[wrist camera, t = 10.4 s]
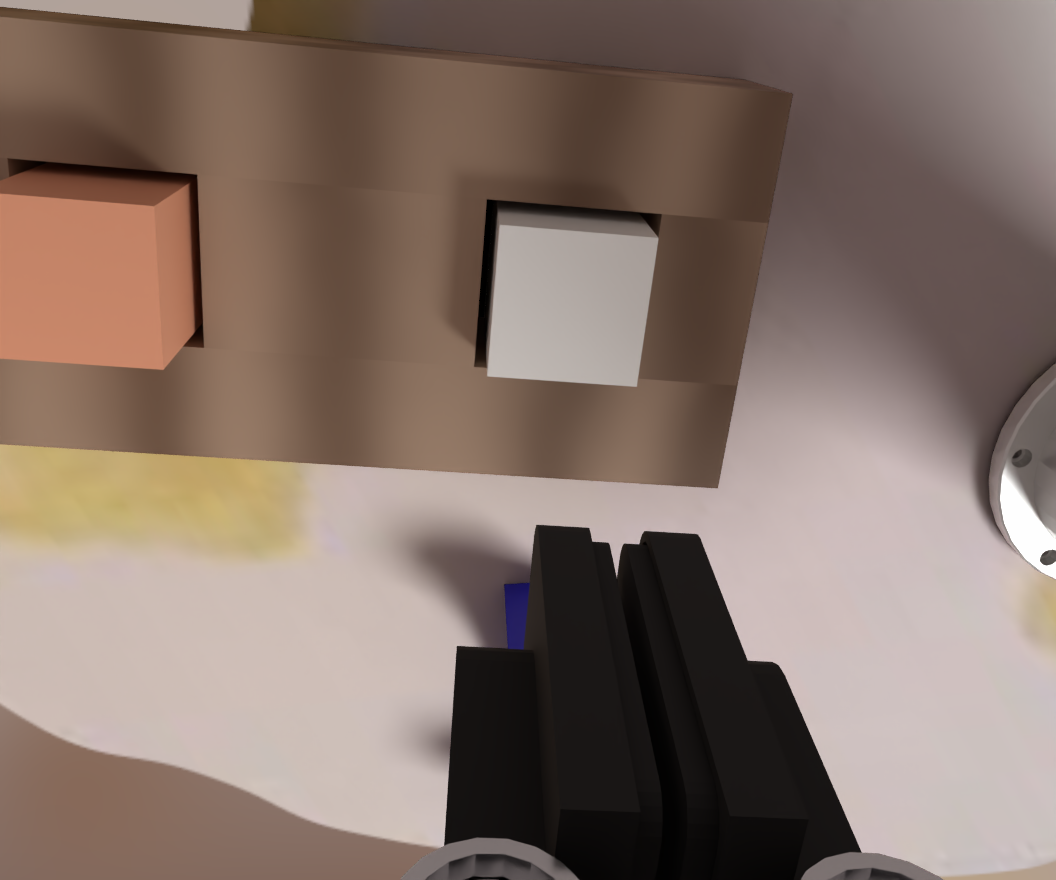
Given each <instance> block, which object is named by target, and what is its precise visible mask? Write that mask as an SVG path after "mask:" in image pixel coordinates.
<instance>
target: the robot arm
mask: <svg viewBox="0 0 1056 880" xmlns="http://www.w3.org/2000/svg"><path fill="white" fill-rule="evenodd" d="M989 496H990V504H991V508H992V511H993V515H994V518H995V521H996V524H997V526H998V527H999V529H1000V531H1001V533H1002V534H1003V536H1004V538H1005V539H1006V541H1007V542H1008V543H1009V544H1010V545H1011V547H1012V548H1013V549H1014V550H1015V551H1016V552H1017V553H1018V554H1019V555H1020V556H1021V557H1022V559H1024V560H1025V561H1026V562H1027V563H1028V564H1030V565H1031V566H1032V567H1033V568H1034V569H1036V570H1037V571H1039V572H1040V573H1042V574H1045V575H1047V576H1049V577H1051V578H1053V579H1055V580H1056V363H1055V364H1054V365H1053V366H1052V367H1050V368H1049V369H1048V370H1047V371H1046V372H1045V373H1044V374H1043V375H1042V376H1041V377H1039V378H1038V379H1037V380H1036V381H1035V382H1034V383H1033V384H1032V386H1031V387H1030V388H1029V389H1028V390H1027V392H1026V393H1025V394H1024V395H1023V397H1022V398H1021V399H1020V400H1019V402H1018V403H1017V404H1016V405H1015V407H1014V409H1013V410H1012V412H1011V414H1010V416H1009V417H1008V419H1007V421H1006V423H1005V424H1004V426H1003V428H1002V430H1001V432H1000V435H999V438H998V441H997V443H996V446H995V449H994V452H993V455H992V461H991V467H990V473H989ZM401 880H943V879H942V878H940V877H939V876H937V875H935V874H933V873H931V872H928V871H926V870H924V869H922V868H920V867H918V866H916V865H914V864H912V863H910V862H908V861H904V860H900V859H897V858H893V857H889V856H886V855H882V854H878V853H862V852H861V850H860V848H859V845H858V843H857V841H856V838H855V836H854V834H853V832H852V829H851V827H850V825H849V822H848V820H847V818H846V815H845V813H844V811H843V808H842V806H841V804H840V802H839V799H838V797H837V795H836V792H835V790H834V788H833V785H832V783H831V781H830V779H829V776H828V774H827V772H826V769H825V767H824V765H823V762H822V760H821V758H820V755H819V753H818V751H817V749H816V746H815V744H814V742H813V739H812V737H811V735H810V732H809V730H808V728H807V726H806V723H805V721H804V719H803V716H802V714H801V712H800V709H799V707H798V705H797V703H796V700H795V698H794V696H793V693H792V691H791V689H790V686H789V684H788V682H787V679H786V677H785V675H784V673H783V672H782V670H781V668H780V667H779V665H777V664H775V663H773V662H762V661H747V658H746V655H745V653H744V650H743V648H742V645H741V643H740V640H739V637H738V635H737V632H736V630H735V627H734V624H733V622H732V619H731V617H730V614H729V612H728V609H727V606H726V604H725V601H724V599H723V596H722V593H721V591H720V588H719V586H718V583H717V580H716V578H715V575H714V573H713V570H712V568H711V565H710V562H709V560H708V557H707V555H706V552H705V549H704V547H703V544H702V542H701V539H700V537H699V536H698V534H685V533H668V532H651V531H644V533H643V534H642V537H641V540H640V545H639V544H624V545H623V546H622V550H621V554H620V560H619V568H618V575H617V577H616V573H615V568H614V563H613V558H612V554H611V549H610V545H609V543H604V542H592V539H591V533H590V530H589V528H582V527H564V526H547V525H536V529H535V535H534V544H533V554H532V564H531V575H530V585H529V596H528V607H527V617H526V628H525V638H524V649H505V648H485V647H465V646H457V653H456V668H455V684H454V700H453V716H452V732H451V747H450V763H449V779H448V795H447V811H446V826H445V842H444V846H443V847H441V848H439V849H437V850H435V851H434V852H432V853H430V854H428V855H426V856H424V857H422V858H421V859H420V860H419V861H418V862H417V863H416V864H415V865H414V866H413V867H412V868H411V869H410V870H408V871H407V873H405V874H404V875H403V876H402V878H401Z"/></svg>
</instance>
